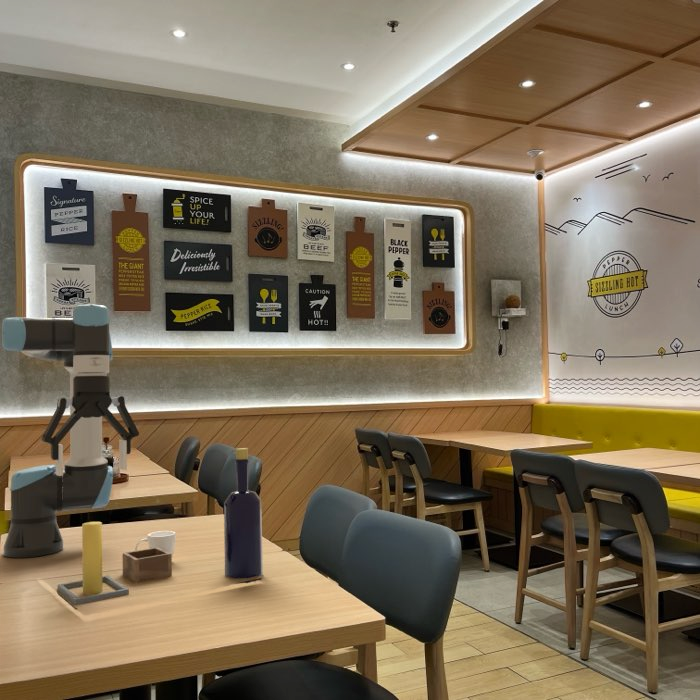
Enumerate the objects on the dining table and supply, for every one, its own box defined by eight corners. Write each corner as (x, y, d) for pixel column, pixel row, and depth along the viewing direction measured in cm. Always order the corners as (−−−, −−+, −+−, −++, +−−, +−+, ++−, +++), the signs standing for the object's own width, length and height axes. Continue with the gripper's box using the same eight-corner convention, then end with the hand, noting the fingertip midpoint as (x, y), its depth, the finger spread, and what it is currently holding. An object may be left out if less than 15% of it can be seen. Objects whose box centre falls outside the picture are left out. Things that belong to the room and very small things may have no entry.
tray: (57, 593, 154) (57, 584, 154) (107, 584, 160) (107, 575, 160) (75, 609, 142) (75, 599, 142) (128, 598, 149) (128, 589, 149)
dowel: (80, 593, 152) (79, 523, 152) (99, 589, 154) (98, 520, 155) (85, 597, 148) (85, 526, 149) (104, 593, 151) (104, 523, 152)
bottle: (271, 574, 165) (268, 447, 167) (249, 584, 157) (247, 451, 159) (238, 570, 169) (236, 446, 171) (216, 580, 161) (214, 450, 162)
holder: (122, 578, 165) (122, 553, 165) (157, 572, 170) (157, 547, 170) (135, 586, 158) (135, 559, 158) (171, 579, 163) (171, 553, 163)
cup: (177, 567, 173) (176, 535, 174) (135, 572, 170) (134, 538, 171) (175, 561, 180) (175, 529, 180) (134, 565, 177) (134, 533, 177)
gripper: (34, 375, 143) (35, 479, 142) (152, 374, 158) (153, 468, 157) (26, 376, 149) (26, 476, 148) (140, 374, 164) (141, 465, 163)
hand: (92, 472), depth 153 cm, fingers open, 13 cm apart
